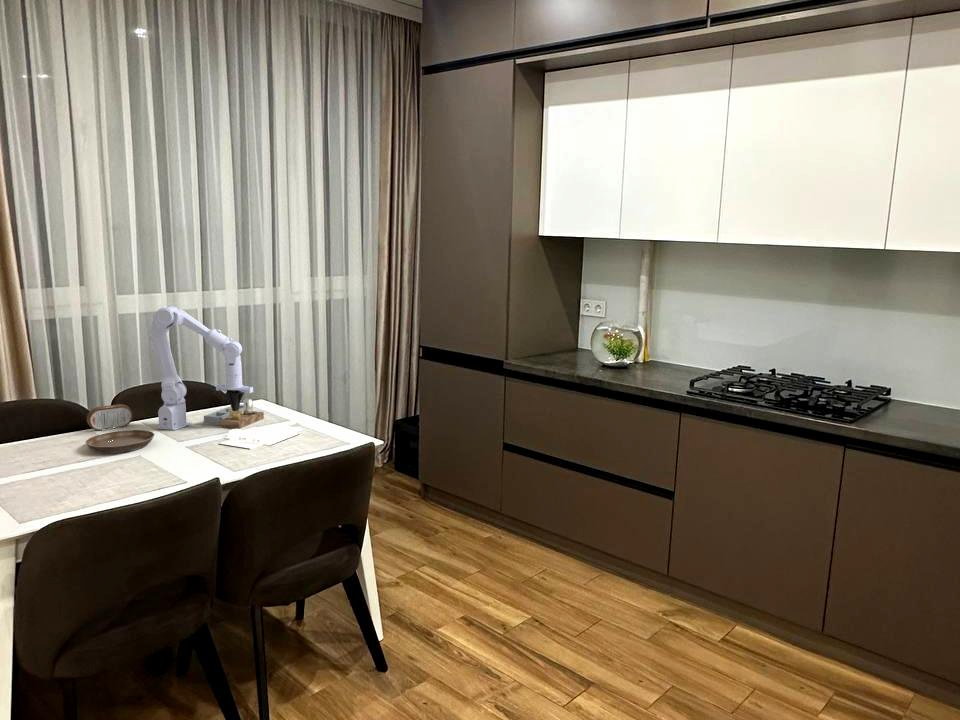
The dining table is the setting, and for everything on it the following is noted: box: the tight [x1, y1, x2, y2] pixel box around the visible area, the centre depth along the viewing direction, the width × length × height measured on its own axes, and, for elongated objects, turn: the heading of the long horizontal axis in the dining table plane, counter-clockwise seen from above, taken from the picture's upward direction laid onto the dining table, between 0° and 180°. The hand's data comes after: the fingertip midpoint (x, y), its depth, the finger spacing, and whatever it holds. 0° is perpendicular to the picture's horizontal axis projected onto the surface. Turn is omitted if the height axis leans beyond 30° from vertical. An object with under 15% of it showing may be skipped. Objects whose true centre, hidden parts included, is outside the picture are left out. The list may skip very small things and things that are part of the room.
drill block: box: [219, 410, 265, 429], centre depth 274 cm, size 16×8×2 cm, turn 163°
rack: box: [203, 404, 244, 426], centre depth 280 cm, size 20×7×3 cm, turn 163°
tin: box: [86, 403, 134, 431], centre depth 264 cm, size 15×3×8 cm, turn 130°
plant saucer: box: [85, 429, 155, 454], centre depth 243 cm, size 21×21×3 cm
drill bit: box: [243, 398, 254, 416], centre depth 277 cm, size 3×3×8 cm
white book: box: [218, 423, 303, 451], centre depth 256 cm, size 20×28×4 cm
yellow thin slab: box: [228, 409, 244, 420], centre depth 270 cm, size 1×6×5 cm, turn 74°
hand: (235, 410), depth 270 cm, fingers closed, pressing on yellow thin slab
